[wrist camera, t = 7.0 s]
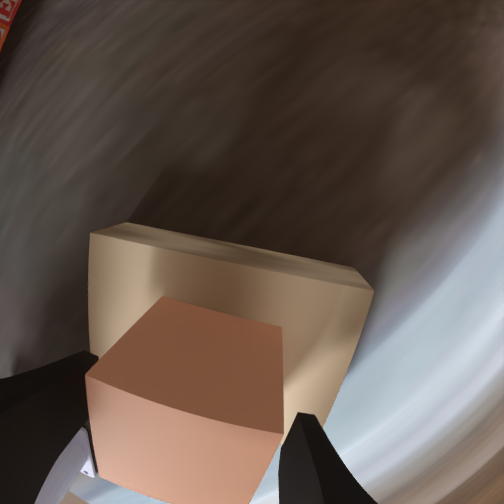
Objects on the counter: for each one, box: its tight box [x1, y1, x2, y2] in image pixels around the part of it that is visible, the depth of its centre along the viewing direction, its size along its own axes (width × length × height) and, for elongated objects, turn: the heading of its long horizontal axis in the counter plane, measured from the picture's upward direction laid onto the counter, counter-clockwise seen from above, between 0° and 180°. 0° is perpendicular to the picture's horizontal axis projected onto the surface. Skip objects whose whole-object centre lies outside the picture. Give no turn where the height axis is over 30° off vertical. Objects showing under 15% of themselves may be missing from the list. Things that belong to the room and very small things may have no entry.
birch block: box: [88, 222, 375, 444], centre depth 15 cm, size 12×9×4 cm
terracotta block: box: [85, 296, 284, 504], centre depth 10 cm, size 5×5×6 cm
